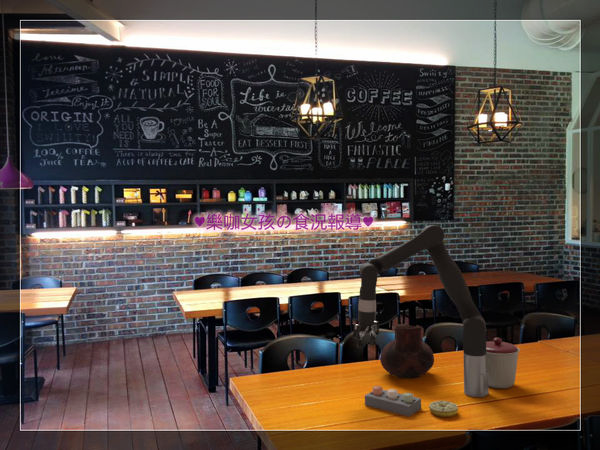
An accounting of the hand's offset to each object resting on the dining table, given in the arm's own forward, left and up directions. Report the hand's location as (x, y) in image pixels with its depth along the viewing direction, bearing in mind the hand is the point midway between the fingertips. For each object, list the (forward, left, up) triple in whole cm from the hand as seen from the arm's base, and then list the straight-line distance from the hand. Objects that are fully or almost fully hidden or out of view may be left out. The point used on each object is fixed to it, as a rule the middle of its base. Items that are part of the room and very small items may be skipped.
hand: (365, 346), depth 228 cm
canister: (-43, -41, -20) cm, 62 cm away
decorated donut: (-36, +2, -20) cm, 42 cm away
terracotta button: (-11, +8, -18) cm, 22 cm away
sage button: (-25, +8, -18) cm, 31 cm away
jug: (-4, -30, -20) cm, 36 cm away
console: (-18, +8, -20) cm, 28 cm away
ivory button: (-18, +8, -18) cm, 26 cm away
